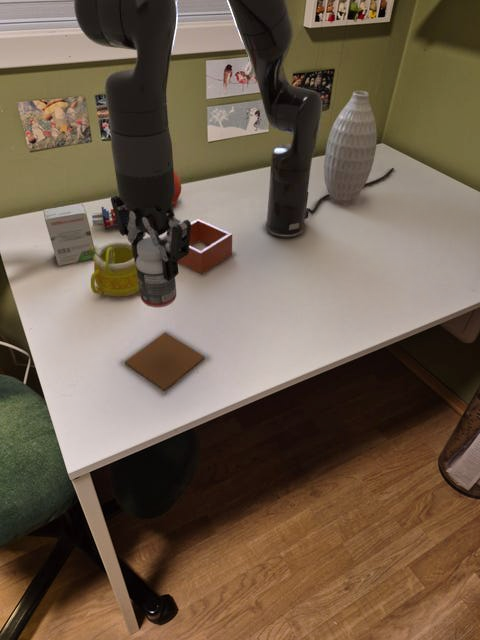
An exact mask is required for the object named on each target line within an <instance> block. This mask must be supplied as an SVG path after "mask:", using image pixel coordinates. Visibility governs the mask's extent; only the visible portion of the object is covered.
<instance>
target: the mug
mask: <svg viewBox="0 0 480 640" xmlns="http://www.w3.org/2000/svg"><path fill="white" fill-rule="evenodd" d="M94 248H95V247H94ZM94 248H92V247H91V248H90V251H92V252H94V253H95V254H94V256H93V259H92V260H93V264H94V265H93V273H92V274H91V277H90V288H91V291H92V292H93V293H94V295H95V294H96V295H99V294H101V295H103V294H105V295H107V296H109V297H127V296H131V295H133V294H136V293H139V292H140V290H139V283H138V276H137V269H136V263H135V261H134V257H133V252H132V245H131V243H130V242H129V241H127V242H126V241H114V242H110V243H107V244H103V245H102V246H100V247H99V248H98V249H97V250H95V251H94ZM97 288H98V289H97Z"/></svg>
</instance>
